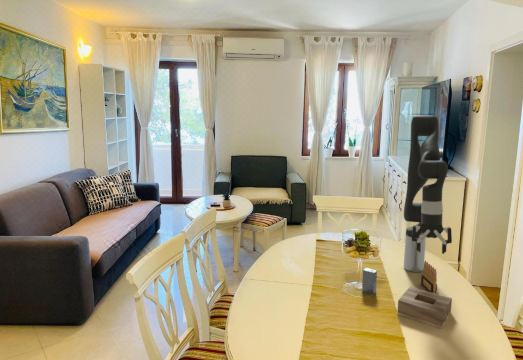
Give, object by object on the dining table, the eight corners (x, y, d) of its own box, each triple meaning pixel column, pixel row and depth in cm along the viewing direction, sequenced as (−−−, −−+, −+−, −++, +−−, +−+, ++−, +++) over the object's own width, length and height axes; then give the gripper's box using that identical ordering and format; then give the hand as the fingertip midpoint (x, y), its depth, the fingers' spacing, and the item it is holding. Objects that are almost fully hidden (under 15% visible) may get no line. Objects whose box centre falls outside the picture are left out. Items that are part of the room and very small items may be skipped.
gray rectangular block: (364, 288, 169) (365, 267, 167) (375, 292, 166) (377, 270, 164) (362, 291, 166) (363, 269, 164) (373, 294, 163) (374, 272, 161)
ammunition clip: (436, 296, 162) (438, 269, 159) (432, 296, 162) (434, 269, 159) (424, 284, 172) (426, 259, 170) (420, 284, 172) (422, 259, 170)
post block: (408, 300, 158) (409, 286, 157) (450, 312, 149) (452, 298, 148) (397, 314, 148) (398, 300, 147) (441, 328, 138) (443, 313, 137)
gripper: (450, 210, 149) (450, 251, 151) (411, 209, 154) (411, 248, 156) (453, 214, 142) (452, 256, 144) (412, 212, 147) (411, 253, 149)
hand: (431, 252), depth 150 cm, fingers open, 8 cm apart
